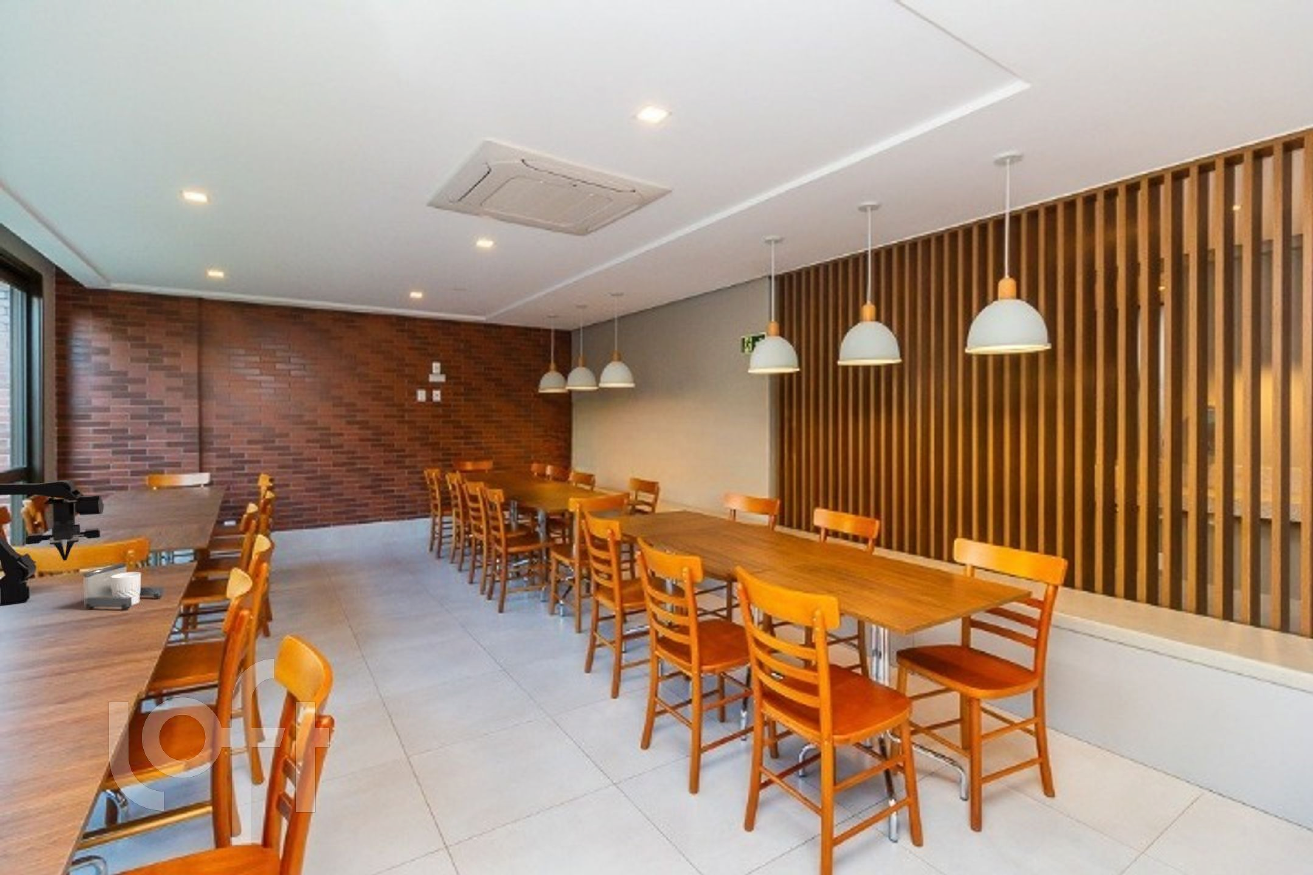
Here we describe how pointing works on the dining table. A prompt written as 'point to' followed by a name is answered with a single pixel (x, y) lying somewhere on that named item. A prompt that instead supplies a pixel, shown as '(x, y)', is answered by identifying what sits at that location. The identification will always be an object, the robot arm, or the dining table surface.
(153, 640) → the dining table surface
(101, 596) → the silver boxy shape
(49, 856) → the dining table surface
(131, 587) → the white cup
